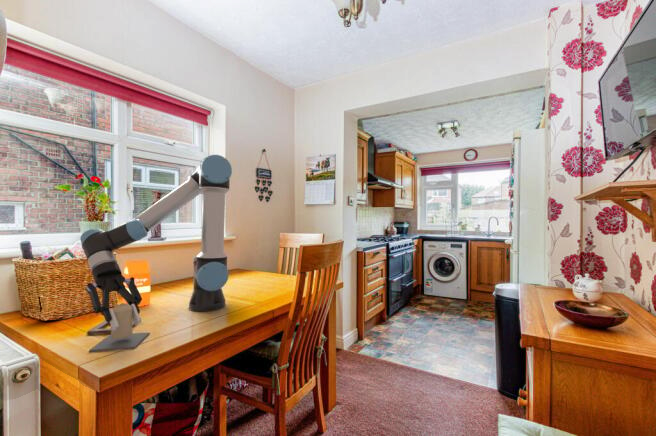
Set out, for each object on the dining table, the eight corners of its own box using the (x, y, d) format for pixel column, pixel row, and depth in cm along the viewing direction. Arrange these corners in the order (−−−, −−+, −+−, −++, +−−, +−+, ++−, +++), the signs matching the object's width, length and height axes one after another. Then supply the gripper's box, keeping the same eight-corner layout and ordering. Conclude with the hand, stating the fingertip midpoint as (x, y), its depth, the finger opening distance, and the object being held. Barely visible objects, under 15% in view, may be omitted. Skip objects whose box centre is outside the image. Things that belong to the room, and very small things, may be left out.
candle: (108, 340, 92) (109, 307, 92) (113, 334, 97) (113, 302, 97) (130, 337, 94) (130, 305, 94) (133, 331, 99) (134, 301, 99)
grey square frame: (141, 321, 115) (141, 318, 115) (127, 332, 104) (127, 329, 104) (105, 323, 113) (105, 319, 113) (87, 335, 101) (87, 331, 101)
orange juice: (150, 304, 138) (150, 260, 138) (128, 308, 132) (128, 262, 132) (144, 301, 143) (144, 259, 144) (122, 305, 137) (122, 260, 137)
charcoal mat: (149, 334, 102) (149, 332, 102) (134, 348, 90) (134, 346, 90) (109, 336, 100) (109, 334, 100) (88, 352, 88) (89, 350, 88)
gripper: (131, 271, 111) (153, 324, 102) (67, 279, 96) (87, 342, 87) (138, 257, 109) (162, 311, 100) (73, 263, 93) (95, 327, 84)
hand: (127, 325), depth 93 cm, fingers closed on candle, 5 cm apart
